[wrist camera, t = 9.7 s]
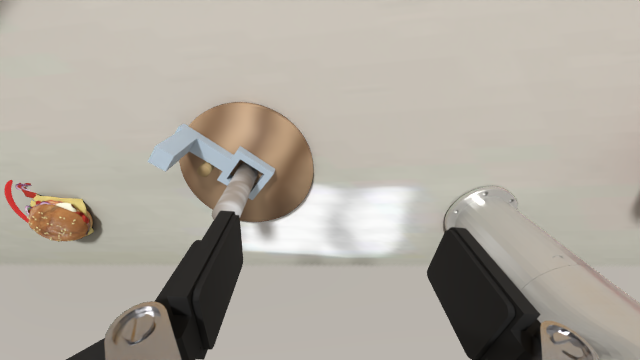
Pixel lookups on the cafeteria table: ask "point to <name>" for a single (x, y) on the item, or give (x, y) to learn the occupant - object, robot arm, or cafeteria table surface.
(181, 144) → the blue square ring handle
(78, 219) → the hamburger
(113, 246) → the cafeteria table surface
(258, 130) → the post base
